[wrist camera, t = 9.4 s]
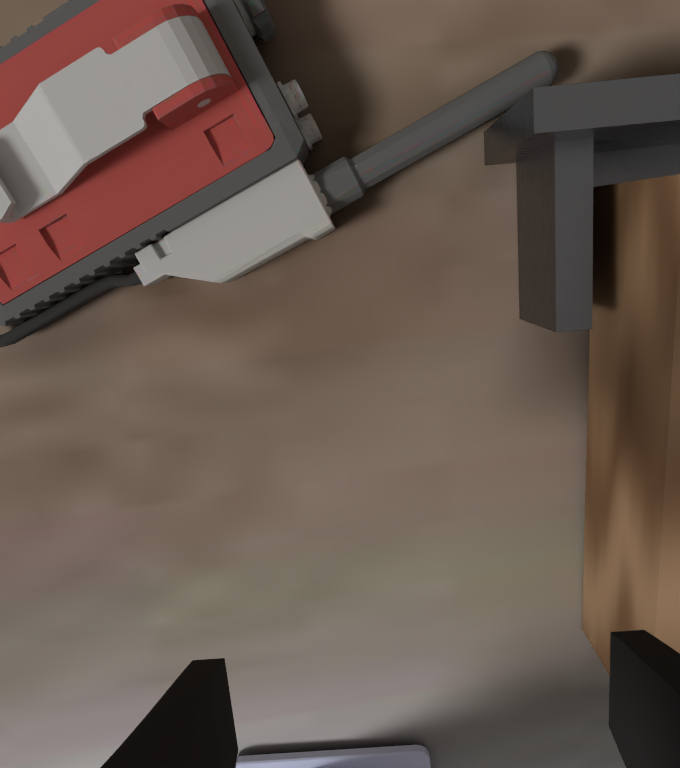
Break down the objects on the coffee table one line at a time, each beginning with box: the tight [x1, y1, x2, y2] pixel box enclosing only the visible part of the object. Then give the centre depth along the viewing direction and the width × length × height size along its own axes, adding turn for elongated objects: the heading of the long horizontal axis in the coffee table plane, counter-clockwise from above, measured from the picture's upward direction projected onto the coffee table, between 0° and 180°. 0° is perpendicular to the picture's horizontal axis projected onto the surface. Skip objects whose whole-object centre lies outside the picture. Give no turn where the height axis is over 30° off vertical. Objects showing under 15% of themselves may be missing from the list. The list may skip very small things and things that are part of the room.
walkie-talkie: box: [0, 0, 558, 347], centre depth 17 cm, size 9×4×20 cm
